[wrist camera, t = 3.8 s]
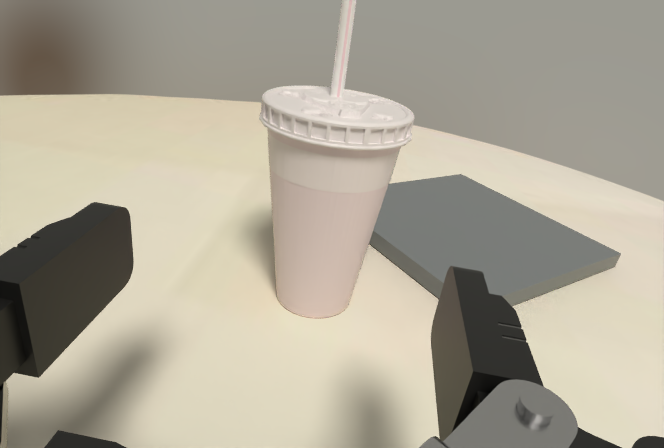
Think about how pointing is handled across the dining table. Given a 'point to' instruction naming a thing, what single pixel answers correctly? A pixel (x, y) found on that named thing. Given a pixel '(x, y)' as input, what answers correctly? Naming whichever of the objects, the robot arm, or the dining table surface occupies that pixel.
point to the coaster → (481, 239)
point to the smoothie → (328, 181)
